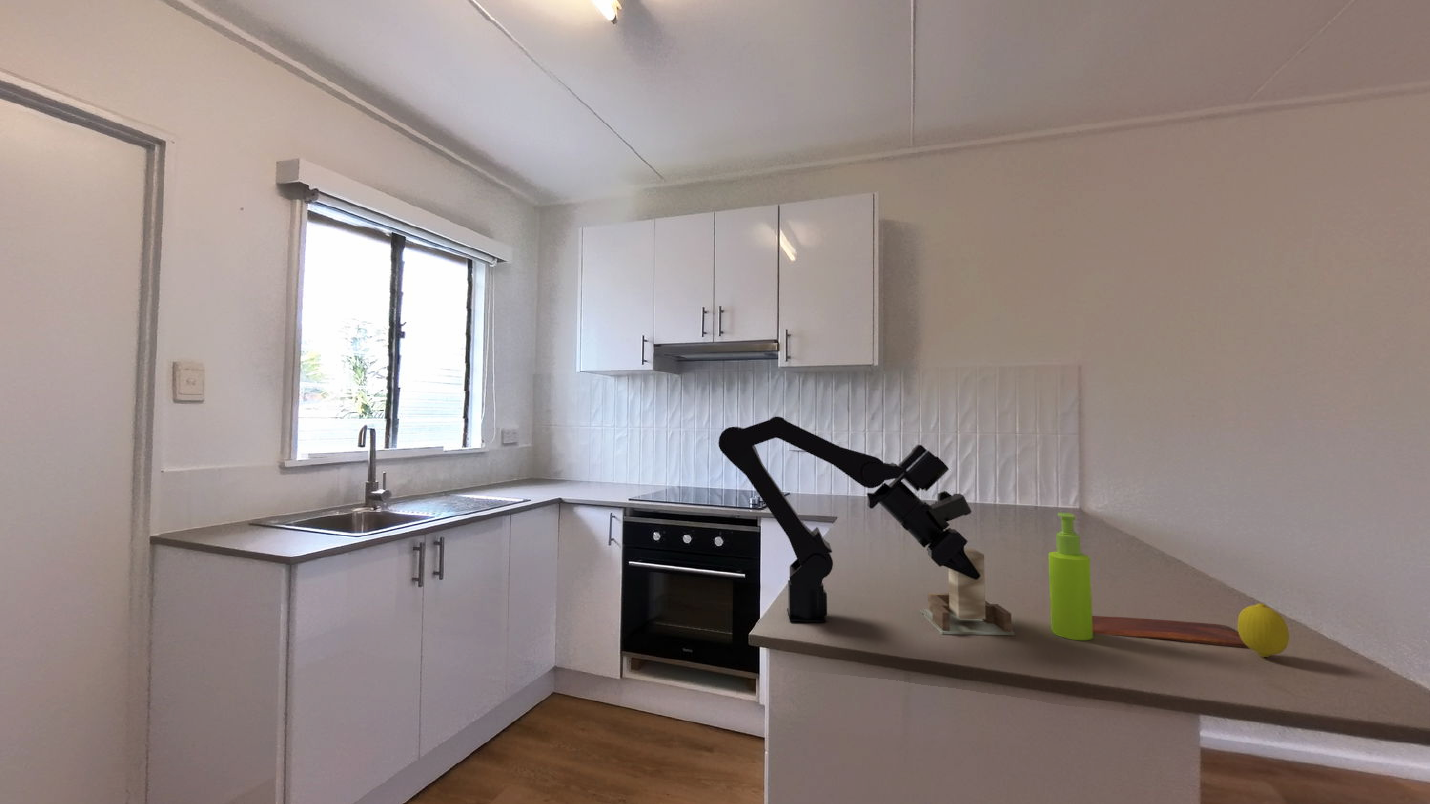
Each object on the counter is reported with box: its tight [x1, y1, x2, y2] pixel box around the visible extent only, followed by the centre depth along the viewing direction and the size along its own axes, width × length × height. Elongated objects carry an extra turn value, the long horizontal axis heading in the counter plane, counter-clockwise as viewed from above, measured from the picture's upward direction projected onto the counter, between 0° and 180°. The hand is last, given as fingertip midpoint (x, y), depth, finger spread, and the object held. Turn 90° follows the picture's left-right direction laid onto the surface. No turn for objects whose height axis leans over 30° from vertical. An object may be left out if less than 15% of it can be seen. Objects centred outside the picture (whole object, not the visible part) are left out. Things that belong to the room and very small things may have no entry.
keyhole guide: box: [919, 592, 1016, 636], centre depth 98 cm, size 12×12×3 cm
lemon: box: [1237, 603, 1290, 658], centre depth 83 cm, size 6×6×8 cm
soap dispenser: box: [1047, 512, 1094, 641], centre depth 93 cm, size 6×7×20 cm
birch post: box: [948, 548, 986, 619], centre depth 97 cm, size 4×4×11 cm
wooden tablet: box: [1092, 615, 1249, 649], centre depth 94 cm, size 27×10×2 cm, turn 72°
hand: (974, 574), depth 97 cm, fingers closed on birch post, 5 cm apart
